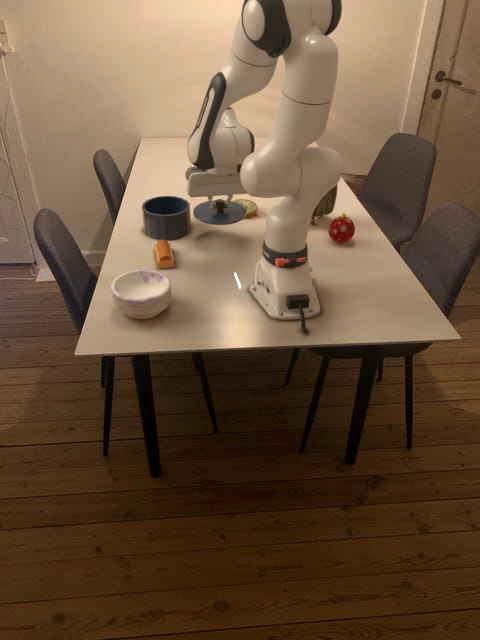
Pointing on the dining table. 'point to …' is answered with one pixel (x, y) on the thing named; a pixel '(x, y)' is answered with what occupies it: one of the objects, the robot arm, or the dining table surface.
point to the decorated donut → (247, 206)
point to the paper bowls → (141, 293)
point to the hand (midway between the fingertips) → (220, 207)
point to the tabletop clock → (325, 204)
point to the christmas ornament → (341, 229)
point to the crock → (166, 217)
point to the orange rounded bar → (164, 254)
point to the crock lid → (219, 213)
